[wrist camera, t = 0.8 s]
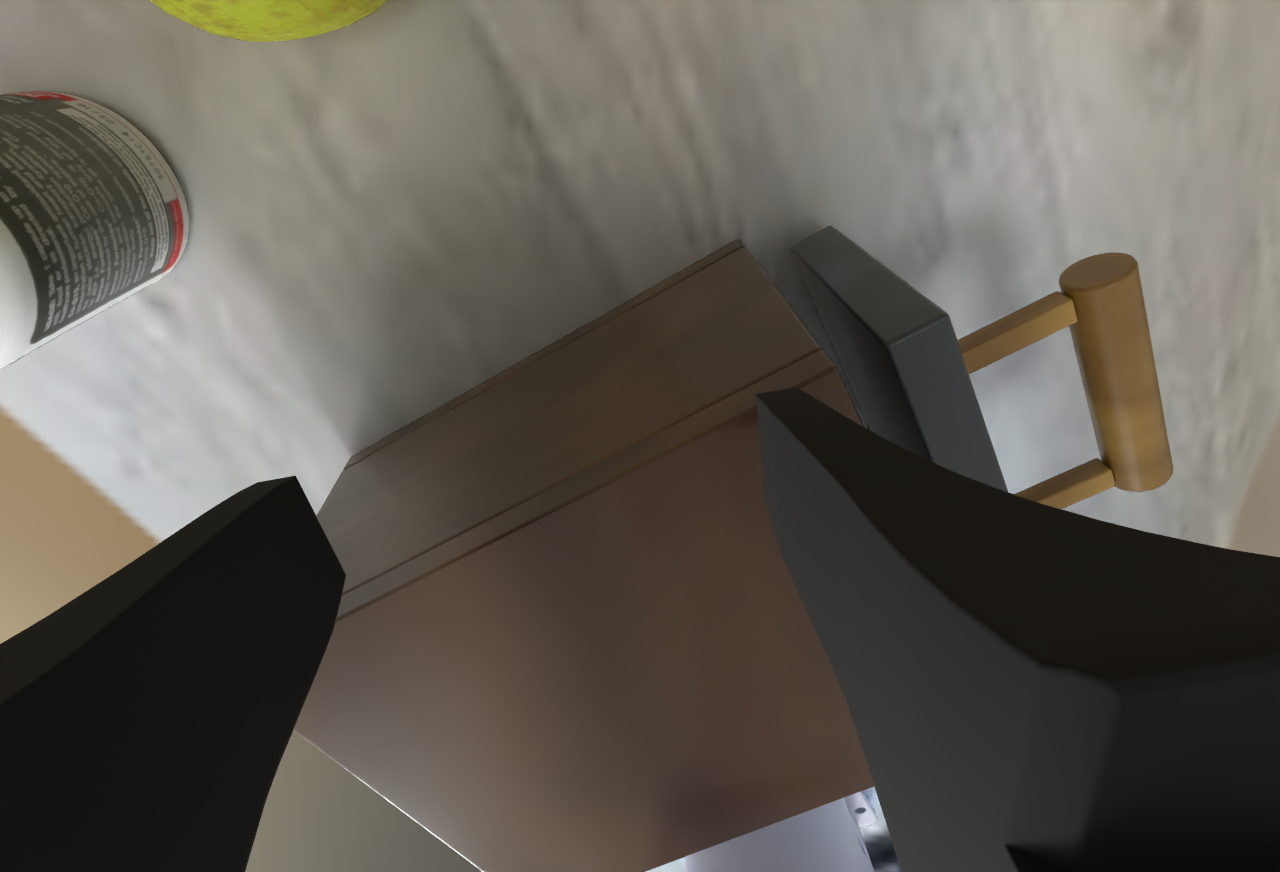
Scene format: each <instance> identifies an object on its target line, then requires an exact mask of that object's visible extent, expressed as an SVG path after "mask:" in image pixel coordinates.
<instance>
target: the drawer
mask: <svg viewBox="0 0 1280 872" xmlns="http://www.w3.org/2000/svg"><path fill="white" fill-rule="evenodd" d="M791 251H792V254H793V256H794V258H795V260H796V263H797V265H798V267H799V269H800V272H801V274H802V276H803V278H804V281H805V283H806V285H807V287H808V290H809V292H810V294H811V297H812V299H813V301H814V303H815V306H816V308H817V310H818V312H819V315H820V317H821V319H822V321H823V324H824V326H825V328H826V330H827V333H828V335H829V337H830V339H831V342H832V344H833V346H834V348H835V351H836V353H837V355H838V357H839V360H840V362H841V364H842V366H843V369H844V371H845V373H846V376H847V378H848V380H849V382H850V385H851V387H852V389H853V391H854V394H855V396H856V398H857V400H858V403H859V405H860V407H861V409H862V412H863V414H864V416H865V418H866V421H867V423H868V425H869V427H870V430H871V431H872V432H874V433H876V434H877V435H879V436H881V437H883V438H885V439H887V440H889V441H891V442H892V443H894V444H896V445H898V446H900V447H902V448H904V449H906V450H908V451H910V452H912V453H915V454H917V455H919V456H921V457H923V458H925V459H927V460H929V461H931V462H933V463H936V464H938V465H940V466H942V467H944V468H947V469H949V470H951V471H954V472H956V473H958V474H961V475H963V476H966V477H968V478H971V479H974V480H976V481H979V482H982V483H984V484H987V485H989V486H992V487H995V488H997V489H1000V490H1003V491H1005V492H1008V490H1007V487H1006V484H1005V481H1004V478H1003V475H1002V472H1001V469H1000V466H999V463H998V460H997V457H996V454H995V451H994V448H993V445H992V442H991V440H990V437H989V434H988V431H987V428H986V425H985V422H984V419H983V416H982V413H981V410H980V407H979V404H978V401H977V398H976V395H975V392H974V389H973V386H972V383H971V380H970V377H969V374H970V373H972V372H974V371H977V370H979V369H981V368H983V367H985V366H987V365H989V364H991V363H993V362H995V361H997V360H999V359H1001V358H1003V357H1005V356H1007V355H1010V354H1012V353H1014V352H1016V351H1018V350H1020V349H1022V348H1024V347H1026V346H1028V345H1030V344H1032V343H1034V342H1036V341H1038V340H1041V339H1043V338H1045V337H1047V336H1049V335H1051V334H1053V333H1055V332H1057V331H1059V330H1061V329H1063V328H1065V327H1067V326H1069V327H1070V331H1071V335H1072V340H1073V344H1074V348H1075V352H1076V356H1077V361H1078V365H1079V369H1080V373H1081V377H1082V382H1083V386H1084V390H1085V394H1086V398H1087V403H1088V407H1089V411H1090V415H1091V419H1092V423H1093V428H1094V432H1095V436H1096V440H1097V444H1098V449H1099V453H1100V457H1101V460H1099V459H1098V458H1096V459H1093V460H1091V461H1088V462H1086V463H1084V464H1082V465H1079V466H1077V467H1075V468H1073V469H1070V470H1068V471H1066V472H1064V473H1061V474H1059V475H1057V476H1054V477H1052V478H1050V479H1048V480H1045V481H1043V482H1041V483H1039V484H1036V485H1034V486H1032V487H1030V488H1027V489H1025V490H1023V491H1021V492H1018V493H1016V494H1014V495H1017V496H1020V497H1023V498H1026V499H1029V500H1032V501H1035V502H1038V503H1041V504H1044V505H1048V506H1051V507H1055V508H1058V509H1062V508H1065V507H1067V506H1069V505H1072V504H1074V503H1076V502H1079V501H1081V500H1083V499H1086V498H1088V497H1090V496H1093V495H1095V494H1097V493H1099V492H1102V491H1104V490H1106V489H1109V488H1111V487H1113V486H1115V487H1116V488H1119V489H1122V490H1125V491H1132V492H1141V491H1148V490H1152V489H1155V488H1158V487H1160V486H1162V485H1163V484H1165V483H1166V482H1167V481H1168V480H1169V479H1170V477H1171V476H1172V473H1173V465H1172V459H1171V454H1170V448H1169V442H1168V436H1167V430H1166V425H1165V419H1164V413H1163V407H1162V401H1161V396H1160V390H1159V384H1158V378H1157V372H1156V367H1155V361H1154V355H1153V349H1152V343H1151V338H1150V332H1149V326H1148V320H1147V314H1146V309H1145V303H1144V297H1143V291H1142V285H1141V280H1140V274H1139V268H1138V263H1137V261H1136V260H1135V258H1134V257H1132V256H1131V255H1128V254H1124V253H1104V254H1099V255H1094V256H1091V257H1088V258H1085V259H1082V260H1080V261H1078V262H1076V263H1074V264H1072V265H1071V266H1069V267H1068V268H1067V269H1065V270H1064V271H1063V273H1062V274H1061V276H1060V279H1059V285H1060V289H1061V293H1060V292H1054V293H1052V294H1050V295H1048V296H1046V297H1044V298H1042V299H1040V300H1038V301H1036V302H1034V303H1032V304H1030V305H1028V306H1026V307H1024V308H1022V309H1020V310H1018V311H1016V312H1013V313H1011V314H1009V315H1007V316H1005V317H1003V318H1001V319H999V320H997V321H995V322H993V323H991V324H989V325H987V326H985V327H983V328H981V329H979V330H977V331H975V332H973V333H971V334H969V335H967V336H965V337H963V338H961V339H959V340H957V338H956V335H955V332H954V329H953V327H952V324H951V321H950V318H949V315H948V314H947V313H946V312H944V311H943V310H942V309H940V308H939V307H938V306H936V305H935V304H934V303H933V302H931V301H930V300H929V299H927V298H926V297H925V296H923V295H922V294H921V293H919V292H918V291H917V290H915V289H914V288H913V287H911V286H910V285H909V284H908V283H906V282H905V281H904V280H902V279H901V278H900V277H898V276H897V275H896V274H894V273H893V272H892V271H890V270H889V269H888V268H887V267H885V266H884V265H883V264H881V263H880V262H879V261H877V260H876V259H875V258H873V257H872V256H871V255H869V254H868V253H867V252H865V251H864V250H863V249H862V248H860V247H859V246H858V245H856V244H855V243H854V242H852V241H851V240H850V239H848V238H847V237H846V236H844V235H843V234H842V233H840V232H839V231H838V230H837V229H835V228H834V227H833V226H828V227H826V228H824V229H822V230H820V231H819V232H817V233H815V234H813V235H811V236H809V237H808V238H806V239H804V240H802V241H800V242H799V243H797V244H795V245H793V246H792V247H791Z"/></svg>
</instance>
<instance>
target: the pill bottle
mask: <svg viewBox="0 0 1280 872" xmlns="http://www.w3.org/2000/svg"><path fill="white" fill-rule="evenodd" d="M188 230H189V216H188V210H187V205H186V201H185V198H184V195H183V192H182V189H181V187H180V185H179V183H178V181H177V179H176V177H175V175H174V173H173V172H172V170H171V169H170V167H169V165H168V164H167V162H166V161H165V160H164V158H163V157H162V155H161V154H160V153H159V151H158V150H157V149H156V148H155V147H154V145H153V144H152V143H151V142H150V141H149V140H148V139H147V138H146V137H145V136H144V135H143V134H142V133H141V132H140V131H139V130H137V129H136V128H135V127H134V126H133V125H132V124H130V123H129V122H128V121H126V120H125V119H124V118H122V117H121V116H119V115H118V114H116V113H114V112H113V111H111V110H109V109H107V108H105V107H103V106H101V105H99V104H96V103H94V102H92V101H89V100H87V99H84V98H80V97H77V96H74V95H69V94H64V93H57V92H46V91H37V92H19V93H11V94H2V95H0V369H1V368H3V367H5V366H7V365H9V364H11V363H14V362H15V361H17V360H18V359H20V358H22V357H24V356H25V355H27V354H29V353H30V352H32V351H34V350H35V349H37V348H39V347H41V346H42V345H44V344H46V343H48V342H50V341H51V340H53V339H55V338H56V337H58V336H60V335H61V334H63V333H65V332H67V331H69V330H70V329H72V328H74V327H76V326H77V325H79V324H81V323H83V322H85V321H86V320H88V319H90V318H92V317H94V316H95V315H97V314H99V313H100V312H102V311H104V310H106V309H108V308H110V307H111V306H113V305H115V304H117V303H119V302H120V301H122V300H124V299H126V298H128V297H129V296H131V295H133V294H135V293H137V292H139V291H140V290H142V289H144V288H146V287H148V286H149V285H151V284H153V283H155V282H157V281H158V280H160V279H161V278H163V277H164V276H165V275H166V274H168V273H169V272H170V271H171V270H172V269H173V268H174V266H175V265H176V264H177V263H178V261H179V259H180V258H181V256H182V254H183V252H184V249H185V246H186V242H187V239H188Z"/></svg>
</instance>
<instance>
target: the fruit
mask: <svg viewBox="0 0 1280 872" xmlns="http://www.w3.org/2000/svg"><path fill="white" fill-rule="evenodd" d="M150 1H152V2H153V3H154V4H156V5H157V6H158V7H160V8H161V9H162V10H164V11H165V12H167V13H169V14H171V15H173V16H174V17H176V18H178V19H181V20H183V21H185V22H187V23H189V24H192V25H194V26H196V27H198V28H201V29H203V30H205V31H207V32H210V33H212V34H216V35H220V36H225V37H230V38H235V39H239V40H244V41H253V42H267V41H288V40H294V39H300V38H306V37H312V36H317V35H320V34H323V33H326V32H330V31H333V30H336V29H339V28H342V27H345V26H348V25H350V24H352V23H354V22H356V21H358V20H360V19H362V18H363V17H365V16H367V15H369V14H371V13H373V12H375V11H376V10H377V9H378V8H379V7H380V6H381V5H382V4H384V3H385V2H386V1H387V0H150Z"/></svg>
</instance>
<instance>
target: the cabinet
mask: <svg viewBox="0 0 1280 872" xmlns="http://www.w3.org/2000/svg"><path fill="white" fill-rule="evenodd" d="M793 387H797V388H799V389H800V390H802V391H804V392H806V393H808V394H809V395H811V396H813V397H814V398H816V399H818V400H819V401H821V402H823V403H824V404H826V405H828V406H829V407H831V408H832V409H834V410H836V411H837V412H839V413H841V414H842V415H844V416H846V417H848V418H849V419H851V420H853V421H854V422H856V423H858V424H860V425H861V426H863V424H862V422H861V420H860V418H859V415H858V413H857V411H856V409H855V406H854V404H853V402H852V400H851V398H850V395H849V393H848V391H847V389H846V386H845V384H844V382H843V380H842V377H841V375H840V373H839V371H838V369H837V367H836V365H835V364H834V363H833V362H832V360H831V359H830V358H829V356H828V355H827V354H826V352H825V351H823V349H822V348H821V346H820V345H819V344H818V342H817V341H816V340H815V338H814V337H813V336H812V334H811V333H810V332H809V330H808V329H807V328H806V326H805V325H804V324H803V322H802V321H801V320H800V318H799V317H798V316H797V315H796V313H795V312H794V311H793V309H792V308H791V307H790V305H789V304H788V303H787V301H786V300H785V299H784V297H783V296H782V295H781V293H780V292H779V291H778V289H777V288H776V287H775V285H774V284H773V283H772V282H771V280H770V279H769V278H768V276H767V275H766V274H765V272H764V271H763V270H762V268H761V267H760V266H759V264H758V263H757V262H756V260H755V259H754V258H753V256H752V255H751V254H750V252H749V251H748V250H747V249H746V247H745V246H744V245H743V243H742V242H741V241H740V240H736V241H734V242H732V243H730V244H728V245H727V246H725V247H723V248H721V249H720V250H718V251H716V252H714V253H713V254H711V255H709V256H707V257H705V258H704V259H702V260H700V261H698V262H697V263H695V264H693V265H691V266H689V267H688V268H686V269H684V270H682V271H681V272H679V273H677V274H675V275H673V276H672V277H670V278H668V279H666V280H665V281H663V282H661V283H659V284H657V285H656V286H654V287H652V288H650V289H649V290H647V291H645V292H643V293H641V294H640V295H638V296H636V297H634V298H633V299H631V300H629V301H627V302H626V303H624V304H622V305H620V306H618V307H617V308H615V309H613V310H611V311H610V312H608V313H606V314H604V315H602V316H601V317H599V318H597V319H595V320H594V321H592V322H590V323H588V324H586V325H585V326H583V327H581V328H579V329H578V330H576V331H574V332H572V333H570V334H569V335H567V336H565V337H563V338H562V339H560V340H558V341H556V342H554V343H553V344H551V345H549V346H547V347H546V348H544V349H542V350H540V351H539V352H537V353H535V354H533V355H531V356H530V357H528V358H526V359H524V360H523V361H521V362H519V363H517V364H515V365H514V366H512V367H510V368H508V369H507V370H505V371H503V372H501V373H499V374H498V375H496V376H494V377H492V378H491V379H489V380H487V381H485V382H483V383H482V384H480V385H478V386H476V387H475V388H473V389H471V390H469V391H467V392H466V393H464V394H462V395H460V396H459V397H457V398H455V399H453V400H452V401H450V402H448V403H446V404H444V405H443V406H441V407H439V408H437V409H436V410H434V411H432V412H430V413H428V414H427V415H425V416H423V417H421V418H420V419H418V420H416V421H414V422H412V423H411V424H409V425H407V426H405V427H404V428H402V429H400V430H398V431H396V432H395V433H393V434H391V435H389V436H388V437H386V438H384V439H382V440H380V441H379V442H377V443H375V444H373V445H372V446H370V447H368V448H366V449H365V450H363V451H361V452H359V453H357V454H356V455H354V456H352V457H351V458H350V459H349V461H348V462H347V464H346V466H345V468H344V469H343V470H344V471H342V473H341V475H340V476H339V478H338V480H337V481H336V483H335V485H334V487H333V488H332V490H331V492H330V494H329V495H328V497H327V499H326V501H325V502H324V504H323V506H322V507H321V509H320V511H319V513H318V514H317V516H316V517H317V519H318V521H319V523H320V525H321V527H322V529H323V531H324V533H325V535H326V536H327V538H328V540H329V542H330V544H331V546H332V548H333V550H334V552H335V554H336V556H337V558H338V560H339V562H340V564H341V566H342V568H343V570H344V572H345V574H346V578H345V583H344V588H343V592H342V597H341V602H340V606H339V610H338V614H337V618H336V622H335V625H334V629H333V633H332V635H331V638H330V641H329V643H328V646H327V648H326V651H325V653H324V656H323V658H322V661H321V663H320V666H319V668H318V671H317V673H316V676H315V678H314V681H313V683H312V686H311V688H310V691H309V693H308V695H307V698H306V700H305V703H304V705H303V707H302V710H301V712H300V715H299V717H298V720H297V722H296V724H295V727H294V729H293V730H294V731H295V732H297V733H298V734H299V735H301V736H302V737H303V738H305V739H306V740H307V741H309V742H310V743H311V744H313V745H314V746H315V747H317V748H318V749H319V750H321V751H322V752H323V753H325V754H326V755H327V756H329V757H330V758H331V759H333V760H334V761H335V762H337V763H338V764H339V765H341V766H342V767H343V768H345V769H346V770H347V771H349V772H350V773H351V774H353V775H354V776H355V777H357V778H358V779H359V780H361V781H362V782H363V783H365V784H366V785H367V786H369V787H370V788H371V789H373V790H374V791H376V792H377V793H378V794H380V795H381V796H382V797H384V798H385V799H386V800H388V801H389V802H390V803H392V804H393V805H394V806H396V807H397V808H398V809H400V810H401V811H402V812H404V813H405V814H406V815H408V816H409V817H410V818H412V819H413V820H414V821H416V822H417V823H418V824H420V825H421V826H422V827H424V828H425V829H426V830H428V831H429V832H430V833H432V834H433V835H434V836H436V837H437V838H438V839H440V840H441V841H442V842H444V843H445V844H446V845H448V846H449V847H451V848H452V849H453V850H454V851H456V852H457V853H459V854H460V855H461V856H463V857H464V858H465V859H467V860H468V861H469V862H471V863H472V864H473V865H475V866H476V867H477V868H479V869H480V870H481V871H483V872H645V871H648V870H651V869H653V868H656V867H659V866H661V865H664V864H667V863H670V862H672V861H675V860H678V859H680V858H683V857H686V856H688V855H691V854H694V853H696V852H699V851H702V850H705V849H707V848H710V847H713V846H715V845H718V844H721V843H723V842H726V841H729V840H731V839H734V838H737V837H739V836H742V835H745V834H748V833H750V832H753V831H756V830H758V829H761V828H764V827H766V826H769V825H772V824H774V823H777V822H780V821H783V820H785V819H788V818H791V817H793V816H796V815H799V814H801V813H804V812H807V811H809V810H812V809H815V808H818V807H820V806H823V805H826V804H828V803H831V802H834V801H836V800H839V799H842V798H844V797H847V796H850V795H853V794H855V793H858V792H861V791H863V790H866V789H869V788H871V787H874V783H873V780H872V777H871V774H870V771H869V768H868V765H867V762H866V759H865V756H864V753H863V750H862V747H861V744H860V741H859V738H858V735H857V732H856V729H855V726H854V723H853V720H852V717H851V714H850V711H849V708H848V705H847V703H846V700H845V698H844V695H843V693H842V690H841V688H840V685H839V683H838V680H837V678H836V675H835V673H834V671H833V669H832V666H831V664H830V662H829V660H828V658H827V655H826V653H825V651H824V649H823V647H822V644H821V642H820V640H819V638H818V636H817V633H816V631H815V629H814V627H813V625H812V622H811V620H810V618H809V616H808V614H807V611H806V609H805V607H804V605H803V603H802V600H801V598H800V596H799V594H798V592H797V589H796V587H795V585H794V583H793V580H792V578H791V576H790V574H789V572H788V569H787V567H786V565H785V562H784V560H783V558H782V556H781V553H780V549H779V546H778V543H777V540H776V536H775V533H774V530H773V527H772V523H771V520H770V516H769V513H768V510H767V506H766V503H765V492H764V481H763V470H762V459H761V448H760V437H759V426H758V415H757V404H756V394H759V393H764V392H770V391H776V390H781V389H787V388H793Z"/></svg>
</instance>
